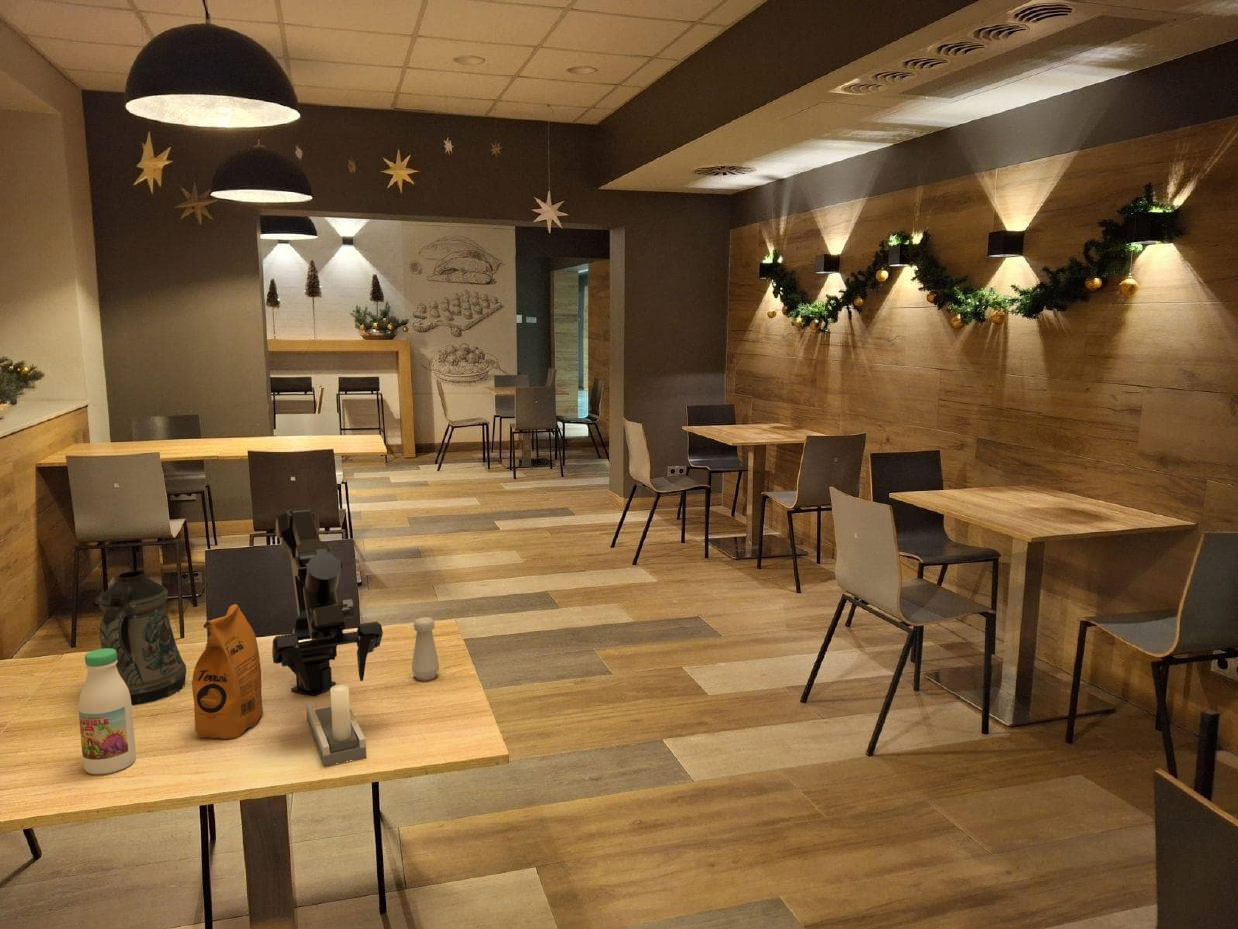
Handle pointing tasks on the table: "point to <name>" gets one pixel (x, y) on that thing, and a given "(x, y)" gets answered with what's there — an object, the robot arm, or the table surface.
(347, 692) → the fader slider
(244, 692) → the coffee package
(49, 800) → the table surface
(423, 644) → the salt shaker
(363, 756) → the fader console
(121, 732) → the milk bottle
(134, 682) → the beer stein
